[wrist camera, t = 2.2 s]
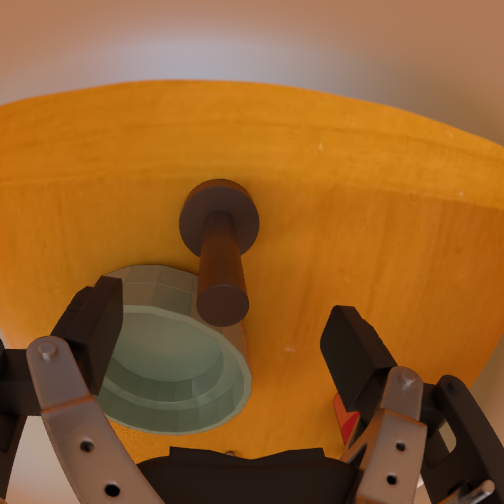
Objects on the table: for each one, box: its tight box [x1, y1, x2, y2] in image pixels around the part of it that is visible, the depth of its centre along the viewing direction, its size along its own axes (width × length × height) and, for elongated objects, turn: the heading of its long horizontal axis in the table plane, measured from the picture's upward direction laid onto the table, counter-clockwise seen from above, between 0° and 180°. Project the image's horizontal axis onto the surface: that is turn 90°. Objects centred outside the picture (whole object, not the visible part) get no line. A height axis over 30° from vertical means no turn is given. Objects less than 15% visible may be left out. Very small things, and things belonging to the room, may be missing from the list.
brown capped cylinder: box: [179, 179, 259, 327], centre depth 16 cm, size 5×5×11 cm
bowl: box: [91, 265, 252, 436], centre depth 23 cm, size 15×15×6 cm
